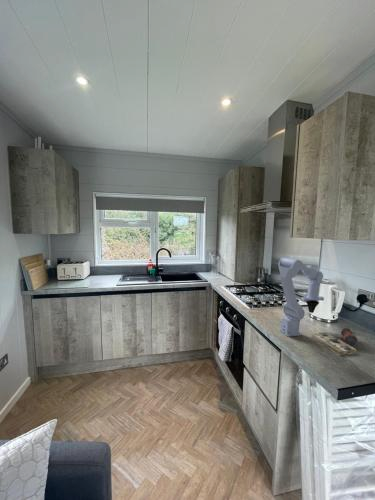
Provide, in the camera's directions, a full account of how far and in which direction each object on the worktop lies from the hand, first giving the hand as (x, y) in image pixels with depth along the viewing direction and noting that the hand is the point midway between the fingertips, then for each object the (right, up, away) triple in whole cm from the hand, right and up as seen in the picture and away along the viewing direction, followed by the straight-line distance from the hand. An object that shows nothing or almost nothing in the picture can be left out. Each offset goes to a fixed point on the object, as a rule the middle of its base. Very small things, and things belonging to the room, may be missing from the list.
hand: (311, 312), depth 132 cm
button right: (+3, -12, -24) cm, 27 cm away
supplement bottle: (+14, -8, -11) cm, 19 cm away
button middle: (+2, -10, -18) cm, 21 cm away
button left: (0, -10, -12) cm, 15 cm away
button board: (+1, -12, -18) cm, 21 cm away
